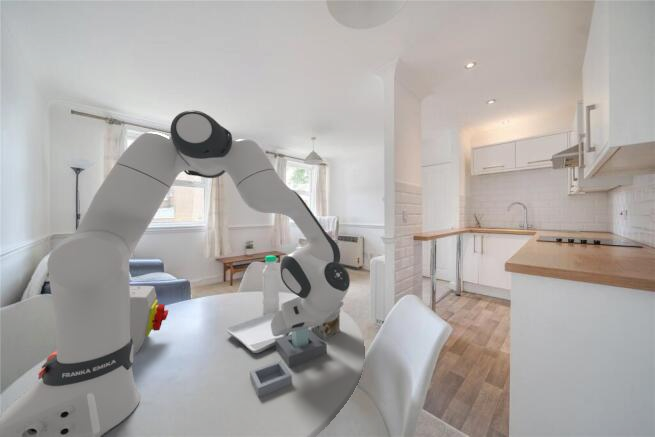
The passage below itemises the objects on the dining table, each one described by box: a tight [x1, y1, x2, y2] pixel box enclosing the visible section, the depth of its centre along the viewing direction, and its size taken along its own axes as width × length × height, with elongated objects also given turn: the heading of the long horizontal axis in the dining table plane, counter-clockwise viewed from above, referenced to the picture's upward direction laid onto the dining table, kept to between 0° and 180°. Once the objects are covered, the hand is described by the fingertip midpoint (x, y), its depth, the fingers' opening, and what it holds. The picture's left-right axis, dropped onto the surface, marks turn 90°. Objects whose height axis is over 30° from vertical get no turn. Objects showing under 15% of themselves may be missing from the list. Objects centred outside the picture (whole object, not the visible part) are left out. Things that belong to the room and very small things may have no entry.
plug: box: [291, 328, 309, 348], centre depth 72 cm, size 4×3×11 cm
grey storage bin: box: [249, 360, 293, 398], centre depth 59 cm, size 8×7×3 cm
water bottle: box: [262, 254, 280, 315], centre depth 104 cm, size 7×7×25 cm
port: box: [274, 328, 328, 368], centre depth 72 cm, size 12×11×5 cm
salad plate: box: [225, 312, 292, 354], centre depth 84 cm, size 21×21×3 cm
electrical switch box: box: [130, 285, 169, 356], centre depth 78 cm, size 15×15×20 cm
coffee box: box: [310, 312, 341, 340], centre depth 86 cm, size 9×6×16 cm
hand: (299, 329), depth 72 cm, fingers open, 8 cm apart
